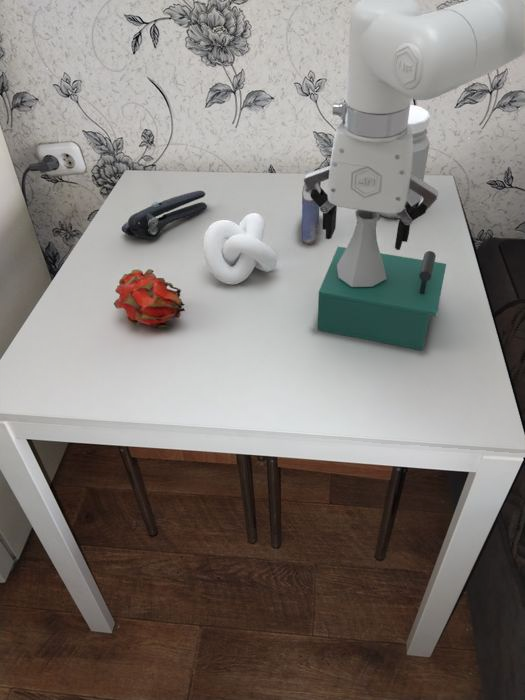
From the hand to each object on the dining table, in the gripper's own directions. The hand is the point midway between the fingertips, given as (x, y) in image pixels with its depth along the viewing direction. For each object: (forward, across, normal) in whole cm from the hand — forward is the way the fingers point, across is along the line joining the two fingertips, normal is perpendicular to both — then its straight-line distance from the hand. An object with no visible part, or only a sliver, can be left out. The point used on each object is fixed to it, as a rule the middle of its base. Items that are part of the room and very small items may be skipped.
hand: (364, 238), depth 82 cm
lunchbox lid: (+7, +3, 0) cm, 7 cm away
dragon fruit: (+14, -30, -10) cm, 34 cm away
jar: (+14, 0, +32) cm, 35 cm away
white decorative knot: (+14, -20, +5) cm, 25 cm away
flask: (+6, 0, 0) cm, 6 cm away
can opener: (+14, -39, +15) cm, 44 cm away
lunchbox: (+13, +3, 0) cm, 14 cm away
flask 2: (+14, -13, +20) cm, 27 cm away
